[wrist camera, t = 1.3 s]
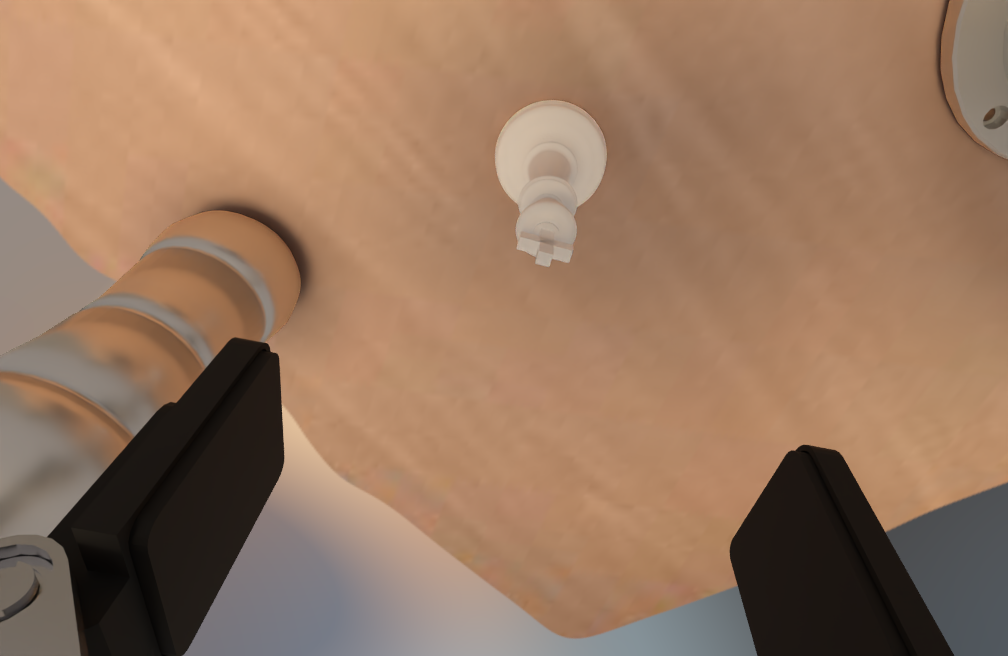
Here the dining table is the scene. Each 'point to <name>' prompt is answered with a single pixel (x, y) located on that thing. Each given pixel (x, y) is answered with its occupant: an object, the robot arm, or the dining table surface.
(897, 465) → the dining table surface
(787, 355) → the dining table surface
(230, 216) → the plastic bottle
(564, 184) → the chess piece
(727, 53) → the dining table surface
